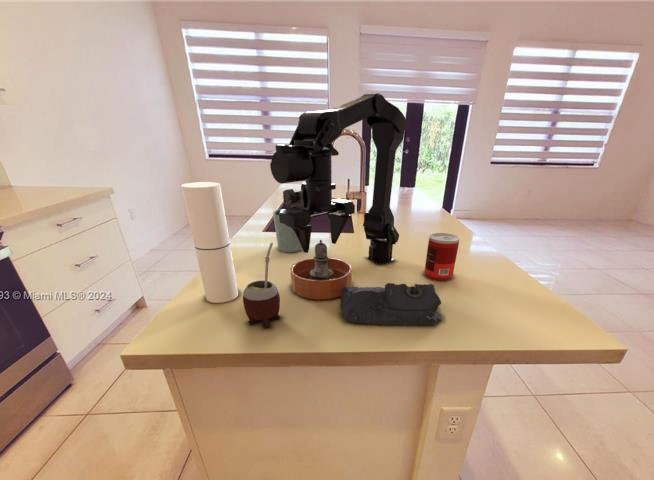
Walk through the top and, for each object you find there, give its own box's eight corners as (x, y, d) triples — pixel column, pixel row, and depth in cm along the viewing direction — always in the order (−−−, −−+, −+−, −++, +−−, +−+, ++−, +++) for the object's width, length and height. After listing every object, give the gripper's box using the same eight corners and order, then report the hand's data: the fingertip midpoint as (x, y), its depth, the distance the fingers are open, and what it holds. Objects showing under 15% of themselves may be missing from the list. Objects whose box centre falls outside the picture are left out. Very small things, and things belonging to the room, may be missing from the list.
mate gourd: (249, 333, 61) (237, 260, 54) (244, 313, 67) (233, 246, 60) (287, 325, 63) (281, 255, 56) (279, 307, 70) (272, 242, 63)
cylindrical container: (207, 305, 70) (181, 188, 58) (204, 292, 75) (180, 182, 64) (240, 299, 73) (222, 186, 61) (235, 286, 78) (217, 181, 67)
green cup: (291, 241, 111) (289, 207, 105) (313, 247, 106) (311, 211, 100) (269, 249, 104) (265, 212, 98) (291, 255, 98) (288, 217, 93)
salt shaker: (330, 291, 76) (329, 244, 71) (307, 289, 77) (304, 242, 72) (335, 281, 82) (335, 237, 76) (314, 279, 82) (312, 235, 77)
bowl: (335, 270, 89) (335, 254, 86) (362, 292, 77) (363, 273, 75) (283, 280, 82) (282, 263, 80) (305, 306, 71) (304, 286, 68)
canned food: (457, 275, 88) (464, 237, 83) (443, 283, 83) (450, 243, 78) (433, 267, 92) (439, 231, 87) (418, 275, 87) (423, 236, 82)
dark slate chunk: (340, 291, 77) (340, 273, 75) (428, 292, 78) (431, 275, 76) (339, 325, 64) (339, 304, 62) (446, 326, 64) (450, 306, 62)
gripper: (323, 172, 79) (324, 233, 86) (259, 178, 66) (267, 249, 73) (357, 176, 72) (355, 242, 80) (294, 185, 60) (298, 261, 67)
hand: (320, 247), depth 75 cm, fingers open, 9 cm apart
